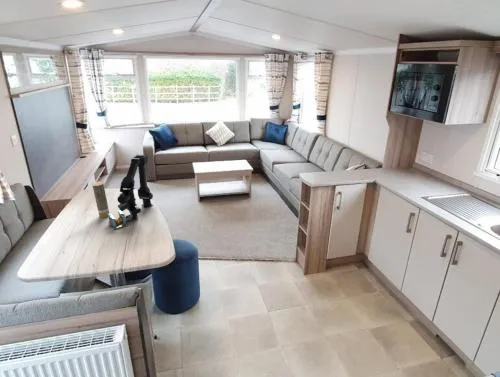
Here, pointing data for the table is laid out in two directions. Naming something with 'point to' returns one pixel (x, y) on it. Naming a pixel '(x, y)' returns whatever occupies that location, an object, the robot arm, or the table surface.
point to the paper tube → (101, 199)
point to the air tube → (119, 220)
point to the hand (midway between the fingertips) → (133, 218)
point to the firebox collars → (119, 217)
